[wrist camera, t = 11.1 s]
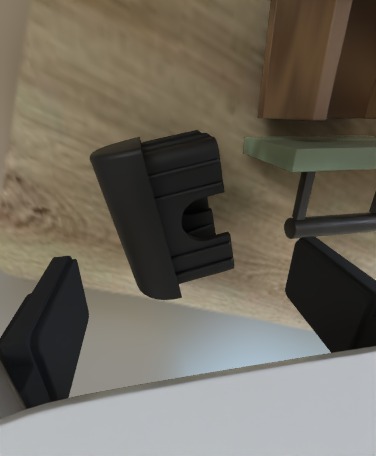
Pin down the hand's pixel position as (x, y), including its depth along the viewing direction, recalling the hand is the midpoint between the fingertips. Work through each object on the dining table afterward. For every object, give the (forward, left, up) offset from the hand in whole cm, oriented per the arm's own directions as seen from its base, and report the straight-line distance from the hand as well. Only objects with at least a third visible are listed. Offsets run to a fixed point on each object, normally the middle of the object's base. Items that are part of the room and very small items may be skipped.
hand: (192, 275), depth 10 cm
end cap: (0, 0, -11) cm, 11 cm away
